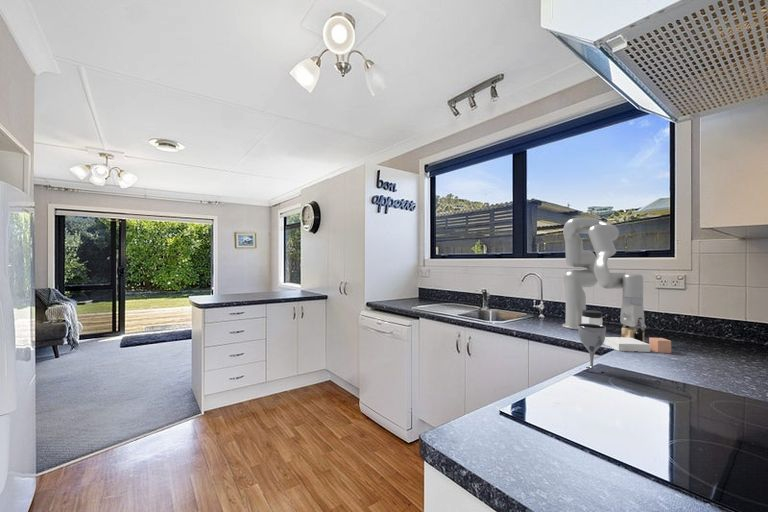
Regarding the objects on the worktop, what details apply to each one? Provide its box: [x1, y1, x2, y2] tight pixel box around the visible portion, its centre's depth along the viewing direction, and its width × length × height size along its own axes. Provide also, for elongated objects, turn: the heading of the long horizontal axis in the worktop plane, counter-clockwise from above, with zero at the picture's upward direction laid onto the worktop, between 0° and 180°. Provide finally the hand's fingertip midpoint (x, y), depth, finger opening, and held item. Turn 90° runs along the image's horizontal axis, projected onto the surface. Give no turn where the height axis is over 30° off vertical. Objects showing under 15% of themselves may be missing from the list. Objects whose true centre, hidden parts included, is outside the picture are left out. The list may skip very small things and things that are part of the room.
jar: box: [582, 309, 603, 326], centre depth 162 cm, size 9×8×12 cm
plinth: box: [603, 336, 651, 353], centre depth 141 cm, size 12×12×3 cm
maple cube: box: [621, 327, 645, 342], centre depth 150 cm, size 6×6×6 cm
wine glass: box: [578, 324, 607, 369], centre depth 112 cm, size 8×8×15 cm
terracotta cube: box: [648, 337, 672, 354], centre depth 136 cm, size 5×5×5 cm
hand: (632, 340), depth 150 cm, fingers open, 7 cm apart
